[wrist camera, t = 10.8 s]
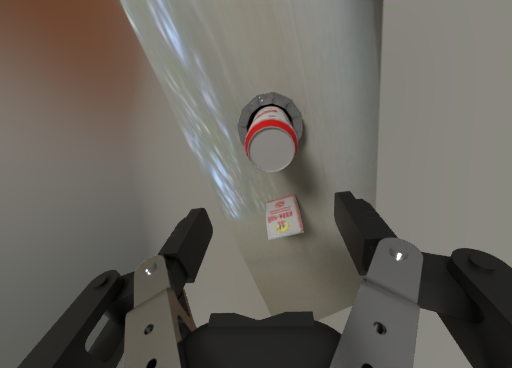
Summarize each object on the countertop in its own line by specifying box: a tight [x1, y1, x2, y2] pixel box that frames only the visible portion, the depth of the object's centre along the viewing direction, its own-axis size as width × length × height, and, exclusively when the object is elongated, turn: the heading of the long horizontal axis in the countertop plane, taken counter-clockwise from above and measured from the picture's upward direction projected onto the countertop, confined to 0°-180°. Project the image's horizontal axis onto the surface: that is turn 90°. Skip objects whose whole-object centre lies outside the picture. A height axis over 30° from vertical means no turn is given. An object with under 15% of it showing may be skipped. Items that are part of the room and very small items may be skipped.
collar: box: [238, 92, 303, 147], centre depth 32 cm, size 11×11×3 cm
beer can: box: [245, 106, 298, 172], centre depth 26 cm, size 6×6×16 cm
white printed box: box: [266, 195, 304, 240], centre depth 38 cm, size 4×7×10 cm, turn 112°
